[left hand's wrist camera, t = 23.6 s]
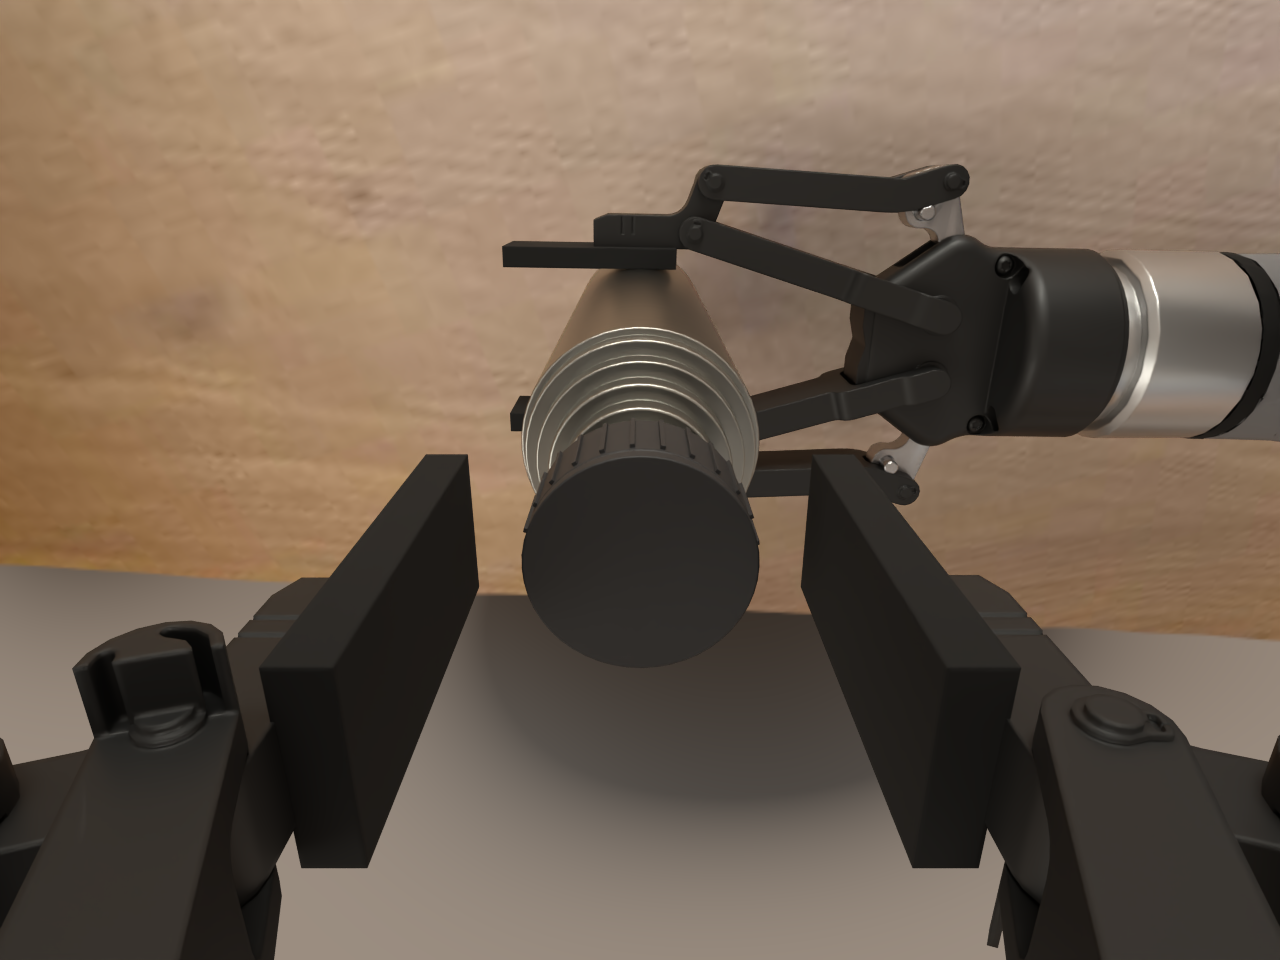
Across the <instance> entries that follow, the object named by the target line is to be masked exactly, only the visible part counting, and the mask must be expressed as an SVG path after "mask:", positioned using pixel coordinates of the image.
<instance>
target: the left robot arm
mask: <svg viewBox="0 0 1280 960" xmlns="http://www.w3.org/2000/svg"><path fill="white" fill-rule="evenodd" d="M478 588H479V580H478V568H477V556H476V545H475V533H474V521H473V510H472V498H471V487H470V475H469V463H468V454H426V455H425V456H424V458H423V459H422V460H421V462H420V463H419V464H418V465H417V467H416V468H415V469H414V470H413V472H412V473H411V474H410V476H409V477H408V478H407V479H406V481H405V482H404V483H403V484H402V486H401V487H400V488H399V490H398V491H397V492H396V493H395V495H394V496H393V497H392V498H391V500H390V501H389V502H388V504H387V505H386V506H385V507H384V509H383V510H382V511H381V513H380V514H379V515H378V516H377V518H376V519H375V520H374V521H373V523H372V524H371V525H370V527H369V528H368V529H367V530H366V532H365V533H364V534H363V535H362V537H361V538H360V539H359V541H358V542H357V543H356V544H355V546H354V547H353V548H352V549H351V551H350V552H349V553H348V555H347V556H346V557H345V558H344V560H343V561H342V562H341V563H340V565H339V566H338V567H337V569H336V570H335V571H334V572H333V574H332V575H331V576H330V577H329V578H300V579H299V580H297V581H295V582H294V583H292V584H290V585H288V586H287V587H285V588H283V589H282V590H280V591H278V592H277V593H275V594H273V595H272V596H271V597H270V598H269V599H268V600H267V602H266V603H265V604H264V605H263V606H262V607H261V608H260V609H259V610H258V612H257V613H256V614H255V615H254V619H253V620H249V622H248V623H247V624H246V625H245V626H244V627H243V628H242V629H241V631H240V632H239V633H238V638H234V639H233V640H232V641H231V642H230V643H229V644H228V645H227V646H226V645H225V640H224V636H223V632H221V631H220V630H219V629H217V628H216V627H214V626H213V625H212V624H207V623H201V622H195V621H179V622H165V623H161V624H156V625H152V626H147V627H143V628H139V629H135V630H133V631H130V632H128V633H125V634H123V635H120V636H118V637H115V638H112V639H110V640H108V641H106V642H105V643H103V644H101V645H100V646H98V647H97V648H95V649H93V650H92V651H90V652H88V653H87V654H86V655H85V656H84V657H83V658H82V659H81V660H80V661H79V662H78V663H77V664H76V665H75V666H74V667H73V668H72V669H73V673H74V676H75V679H76V682H77V685H78V688H79V691H80V694H81V697H82V701H83V704H84V707H85V710H86V713H87V717H88V720H89V723H90V726H91V729H92V732H93V735H94V740H93V742H92V744H91V746H90V748H89V749H88V750H84V751H80V752H75V753H70V754H66V755H60V756H56V757H51V758H46V759H41V760H36V761H31V762H26V763H21V764H16V765H12V763H11V760H10V757H9V754H8V752H7V749H6V746H5V744H4V741H3V739H1V738H0V960H274V956H275V947H276V939H277V931H278V923H279V914H280V906H281V898H282V894H281V888H280V881H279V876H278V872H277V868H276V862H277V860H278V859H279V857H280V855H281V853H282V851H283V849H284V847H285V845H286V844H287V842H288V840H289V838H290V836H291V834H292V832H293V831H294V836H295V841H296V845H297V850H298V855H299V859H300V864H301V868H368V865H369V863H370V860H371V858H372V855H373V853H374V850H375V848H376V845H377V843H378V840H379V838H380V835H381V833H382V830H383V828H384V825H385V822H386V820H387V817H388V815H389V812H390V810H391V807H392V805H393V802H394V800H395V797H396V795H397V792H398V790H399V787H400V785H401V782H402V780H403V777H404V775H405V772H406V770H407V767H408V765H409V762H410V760H411V757H412V755H413V752H414V750H415V747H416V744H417V742H418V739H419V737H420V734H421V732H422V729H423V727H424V724H425V722H426V719H427V717H428V714H429V712H430V709H431V707H432V704H433V702H434V699H435V697H436V694H437V692H438V689H439V687H440V684H441V682H442V679H443V677H444V674H445V671H446V669H447V666H448V664H449V661H450V659H451V656H452V654H453V651H454V649H455V646H456V644H457V641H458V639H459V636H460V634H461V631H462V629H463V626H464V624H465V621H466V619H467V616H468V614H469V611H470V609H471V606H472V604H473V601H474V598H475V596H476V593H477V591H478ZM801 588H802V591H803V593H804V596H805V598H806V601H807V604H808V606H809V609H810V611H811V614H812V616H813V619H814V621H815V624H816V626H817V629H818V631H819V634H820V636H821V639H822V641H823V644H824V646H825V649H826V651H827V654H828V656H829V659H830V661H831V664H832V666H833V669H834V671H835V674H836V677H837V679H838V681H839V684H840V687H841V689H842V692H843V694H844V697H845V699H846V702H847V704H848V707H849V709H850V712H851V714H852V717H853V719H854V722H855V724H856V727H857V729H858V732H859V734H860V737H861V739H862V742H863V744H864V747H865V750H866V752H867V754H868V757H869V760H870V762H871V765H872V767H873V770H874V772H875V775H876V777H877V780H878V782H879V785H880V787H881V790H882V792H883V795H884V797H885V800H886V802H887V805H888V807H889V810H890V812H891V815H892V817H893V820H894V822H895V825H896V827H897V830H898V833H899V835H900V837H901V840H902V843H903V845H904V848H905V850H906V853H907V855H908V858H909V860H910V863H911V865H912V868H979V864H980V859H981V855H982V850H983V845H984V841H985V835H986V831H987V828H988V830H989V832H990V834H991V836H992V838H993V840H994V841H995V843H996V845H997V847H998V849H999V851H1000V853H1001V854H1002V856H1003V858H1004V860H1005V863H1004V868H1003V872H1002V876H1001V881H1000V885H999V889H998V894H997V898H996V902H995V907H994V911H993V916H992V920H991V924H990V929H989V935H988V942H987V945H989V946H992V947H996V948H998V945H999V941H1000V936H1001V932H1002V931H1003V937H1004V945H1005V953H1006V960H1280V735H1279V736H1278V738H1277V741H1276V744H1275V746H1274V749H1273V752H1272V754H1271V757H1270V760H1269V762H1267V761H1262V760H1257V759H1252V758H1247V757H1242V756H1237V755H1232V754H1227V753H1222V752H1217V751H1212V750H1207V749H1202V748H1198V747H1194V746H1190V744H1189V742H1188V740H1187V738H1186V736H1185V735H1184V734H1183V733H1182V731H1181V730H1180V729H1179V728H1178V726H1177V725H1176V724H1175V723H1174V721H1173V720H1171V719H1170V718H1169V717H1167V716H1166V715H1164V714H1163V713H1162V712H1160V711H1159V710H1157V709H1156V708H1154V707H1153V706H1152V705H1150V704H1148V703H1145V702H1143V701H1141V700H1139V699H1137V698H1134V697H1132V696H1130V695H1128V694H1126V693H1122V692H1118V691H1114V690H1111V689H1107V688H1103V687H1099V686H1092V685H1091V684H1090V683H1089V682H1088V681H1087V680H1086V678H1085V677H1084V676H1083V675H1082V674H1081V673H1080V672H1079V671H1078V670H1077V668H1076V667H1075V666H1074V665H1073V664H1072V663H1071V662H1070V661H1069V659H1068V658H1067V657H1066V656H1065V655H1064V654H1063V653H1062V652H1061V651H1060V649H1059V648H1058V647H1057V646H1056V645H1055V644H1054V643H1053V642H1052V641H1051V639H1050V638H1049V637H1048V636H1047V635H1043V634H1042V629H1041V628H1040V627H1039V626H1038V625H1037V624H1036V623H1035V622H1034V620H1033V619H1032V618H1031V617H1027V613H1026V612H1025V610H1024V609H1023V608H1022V607H1021V606H1020V605H1019V604H1018V603H1017V602H1016V600H1015V599H1014V598H1013V597H1012V596H1011V595H1010V594H1009V593H1008V592H1006V591H1005V590H1003V589H1001V588H1000V587H998V586H996V585H995V584H993V583H991V582H989V581H988V580H986V579H984V578H983V577H981V576H979V575H948V574H947V572H946V571H945V570H944V569H943V567H942V566H941V565H940V563H939V562H938V561H937V560H936V558H935V557H934V556H933V555H932V553H931V552H930V551H929V549H928V548H927V547H926V546H925V544H924V543H923V542H922V541H921V539H920V538H919V537H918V535H917V534H916V533H915V532H914V530H913V529H912V528H911V527H910V525H909V524H908V523H907V521H906V520H905V519H904V518H903V516H902V515H901V514H900V512H899V511H898V510H897V509H896V507H895V506H894V505H893V504H892V502H891V501H890V500H889V498H888V497H887V496H886V495H885V493H884V492H883V491H882V490H881V488H880V487H879V486H878V484H877V483H876V482H875V481H874V479H873V478H872V477H871V476H870V474H869V473H868V472H867V470H866V469H865V468H864V467H863V465H862V464H861V463H860V462H859V460H858V459H857V458H856V456H855V455H854V454H812V463H811V475H810V487H809V498H808V510H807V521H806V533H805V545H804V556H803V568H802V580H801Z"/></svg>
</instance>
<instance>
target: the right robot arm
mask: <svg viewBox="0 0 1280 960" xmlns="http://www.w3.org/2000/svg"><path fill="white" fill-rule="evenodd" d="M968 185H969V174H968V171H967V170H966V169H965V168H964V167H963V166H961V165H958V164H952V165H934V166H926V167H923V168H919V169H916V170H913V171H909V172H906V173H903V174H899V175H896V176H893V177H877V176H864V175H850V174H837V173H824V172H810V171H797V170H783V169H770V168H757V167H743V166H730V165H710V166H706V167H704V168H702V169H700V170H699V172H698V173H697V174H696V177H695V180H694V184H693V186H692V189H691V191H690V194H689V197H688V199H687V201H686V203H685V205H684V206H683V207H682V209H680V210H679V211H678V212H675V213H673V214H630V213H607V214H605V215H602V216H600V217H598V218H595V219H594V242H539V241H512V242H510V243H508V244H506V245H504V246H502V252H503V267H530V268H590V269H650V270H676V253H677V249H689V250H692V251H695V252H698V253H701V254H704V255H707V256H710V257H713V258H716V259H719V260H722V261H725V262H728V263H731V264H734V265H737V266H740V267H743V268H746V269H749V270H752V271H755V272H758V273H761V274H764V275H767V276H770V277H773V278H776V279H779V280H782V281H785V282H788V283H791V284H794V285H797V286H800V287H803V288H806V289H809V290H812V291H815V292H818V293H821V294H824V295H827V296H830V297H833V298H836V299H839V300H842V301H844V302H847V303H849V304H851V311H850V323H851V330H852V340H851V343H850V345H849V348H848V350H847V353H846V356H845V364H844V367H843V368H840V369H836V370H832V371H829V372H826V373H823V374H822V375H821V376H820V377H818V378H815V379H812V380H808V381H804V382H801V383H797V384H793V385H790V386H786V387H782V388H779V389H775V390H771V391H768V392H764V393H760V394H757V395H753V396H750V397H751V399H752V402H753V405H754V408H755V411H756V415H757V421H758V426H759V440H762V439H766V438H770V437H773V436H777V435H781V434H785V433H788V432H792V431H796V430H800V429H803V428H807V427H811V426H815V425H818V424H822V423H826V422H830V421H834V420H844V421H847V420H854V419H858V418H861V417H865V416H869V415H873V414H876V413H878V414H879V415H880V416H882V417H883V418H884V419H886V420H887V421H888V422H889V423H891V424H892V425H893V426H894V427H896V428H897V429H898V430H900V431H901V432H902V434H901V435H900V437H899V438H898V439H896V440H895V441H893V442H889V443H886V442H879V443H876V444H873V445H871V446H870V448H869V450H868V451H867V452H865V451H861V450H855V449H813V450H784V451H759V452H758V459H757V463H756V468H755V472H754V474H753V477H752V479H751V482H750V485H749V487H748V489H747V492H746V496H747V497H776V496H805V495H809V487H810V475H811V463H812V454H854V455H855V456H856V458H857V459H858V460H859V462H860V463H861V464H862V465H863V467H864V468H865V469H866V470H867V472H868V473H869V474H870V476H871V477H872V478H873V479H874V481H875V482H876V483H877V484H878V486H879V487H880V488H881V490H882V491H883V492H884V493H885V495H886V496H887V497H888V498H889V500H890V501H891V502H892V503H896V504H899V505H908V504H911V503H912V502H914V501H915V500H916V499H917V497H918V496H919V492H920V490H919V486H918V484H917V483H916V482H915V480H914V478H915V476H916V474H917V472H918V470H919V468H920V465H921V463H922V461H923V459H924V457H925V455H926V453H927V451H928V449H929V447H930V446H936V445H940V444H943V443H945V442H947V441H949V440H951V439H953V438H956V437H959V436H964V435H980V436H1037V437H1067V436H1072V435H1074V434H1077V433H1078V434H1079V435H1081V436H1084V437H1090V438H1189V439H1204V438H1211V439H1243V440H1271V441H1278V442H1280V254H1235V253H1229V252H1211V251H1164V250H1106V251H1104V252H1101V253H1097V252H1095V251H1093V250H1089V249H1059V248H1002V247H989V246H987V245H985V244H983V243H981V242H980V241H978V240H977V239H975V238H974V237H971V236H968V235H965V234H964V226H963V218H962V210H961V202H960V196H961V195H962V194H963V193H964V192H965V191H966V190H967V187H968ZM724 201H736V202H749V203H763V204H777V205H790V206H804V207H818V208H831V209H845V210H858V211H872V212H888V213H898V216H899V219H900V221H901V222H902V223H903V224H904V225H906V226H908V227H913V228H924V229H925V230H926V231H927V232H928V233H929V235H930V239H931V240H930V241H928V242H927V243H925V244H924V245H922V246H921V247H919V248H918V249H916V250H915V251H913V252H912V253H910V254H909V255H907V256H906V257H904V258H903V259H901V260H900V261H898V262H897V263H895V264H894V265H892V266H891V267H889V268H888V269H886V270H885V271H883V272H882V273H880V274H879V275H877V276H875V275H872V274H869V273H866V272H863V271H860V270H857V269H854V268H851V267H849V266H846V265H842V264H839V263H836V262H833V261H830V260H827V259H824V258H821V257H818V256H815V255H813V254H810V253H807V252H804V251H801V250H798V249H795V248H792V247H789V246H786V245H783V244H780V243H777V242H774V241H771V240H768V239H765V238H762V237H760V236H757V235H754V234H751V233H748V232H745V231H742V230H739V229H736V228H733V227H730V226H727V225H724V224H721V223H718V222H716V219H717V217H718V214H719V212H720V209H721V207H722V204H723V202H724ZM530 397H531V396H520V397H519V398H518V400H517V402H516V404H515V406H514V407H513V409H512V411H511V413H510V421H511V431H522V426H523V418H524V415H525V411H526V407H527V404H528V401H529V399H530Z"/></svg>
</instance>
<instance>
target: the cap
mask: <svg viewBox="0 0 1280 960" xmlns="http://www.w3.org/2000/svg"><path fill="white" fill-rule="evenodd" d="M753 518H754V516H753V513H752V510H751V507H750V504H749V501H748V499H747V496H746V493H745V490H744V487H743V484H742V482H741V483H738V481H737V479H736V476H735V473H734V470H733V467H732V464H731V462H730V461H729V460H728V461H726V460H725V459H724V458H723V457H722V456H721V455H720V454H719V452H718V451H717V450H716V449H715V448H714V444H713V443H712V442H711V441H709V443H707V442H706V441H705V440H703V439H702V438H700V437H698V436H697V435H695V434H694V433H691V431H690V429H689V428H687V427H686V428H685V429H683V428H680V427H677V426H674V425H671V424H668V423H664V420H660V419H659V422H657V421H644V420H636V421H635V418H631V421H624V422H619V423H614V424H610V425H608V423H604V424H603V427H601V428H598V429H596V430H594V431H592V432H590V433H588V434H586V435H584V436H583V435H582V434H580V435H579V436H578V438H577V440H576V441H575V442H573V443H572V444H571V445H570V446H569V447H568V448H567V449H565V450H564V451H563V452H561V451H559V452H558V453H557V457H556V460H555V462H554V463H553V465H552V466H551V468H550V469H549V471H548V472H547V473H546V472H544V473H543V475H542V478H541V481H540V484H539V487H538V490H537V493H536V495H535V497H534V500H533V503H532V506H531V509H530V512H529V515H528V518H527V521H526V524H525V527H524V530H523V532H525V533H526V535H525V539H524V543H523V550H522V573H523V579H524V584H525V587H526V591H527V594H528V597H529V599H530V601H531V603H532V605H533V608H534V609H535V611H536V612H537V614H538V616H539V617H540V619H541V620H542V621H543V623H544V624H545V625H546V626H547V627H548V629H549V630H550V631H551V632H552V633H553V634H554V635H556V636H557V637H558V638H559V639H560V640H561V641H562V642H564V643H565V644H567V645H568V646H569V647H571V648H572V649H574V650H576V651H578V652H579V653H581V654H583V655H585V656H587V657H590V658H592V659H595V660H597V661H600V662H604V663H607V664H611V665H616V666H623V667H634V668H648V667H659V666H665V665H670V664H674V663H677V662H680V661H684V660H687V659H689V658H691V657H694V656H696V655H698V654H700V653H702V652H703V651H705V650H707V649H709V648H710V647H712V646H713V645H715V644H716V643H717V642H719V641H720V640H721V639H722V638H724V637H725V636H726V635H727V634H728V633H729V632H730V631H731V630H732V629H733V627H734V626H735V625H736V624H737V623H738V621H739V620H740V619H741V617H742V616H743V614H744V613H745V611H746V609H747V608H748V606H749V604H750V601H751V599H752V597H753V594H754V591H755V588H756V584H757V581H758V573H759V549H758V545H759V539H758V536H757V533H756V530H755V527H754V524H753V520H752V519H753Z"/></svg>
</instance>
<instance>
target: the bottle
mask: <svg viewBox="0 0 1280 960" xmlns="http://www.w3.org/2000/svg"><path fill="white" fill-rule="evenodd" d="M631 418H635V421H636V420H644V421H657V422H659V419H660V420H664V423H668V424H671V425H674V426H677V427H680V428H683V429H685V428H686V427H687V428H689V429H690V431H691V433H694V434H695V435H697V436H698V437H700V438H702V439H703V440H705V441H706V442H707V443H709V441H711V442H712V443H713V444H714V448H715V449H716V450H717V451H718V452H719V454H720V455H721V456H722V457H723V458H724V459H725V460H726V461H728V460H729V461H730V462H731V464H732V467H733V470H734V473H735V476H736V479H737V481H738V483H741V482H742V484H743V487H744V490H745V493H746V492H747V489H748V487H749V485H750V482H751V479H752V477H753V474H754V472H755V468H756V463H757V459H758V452H759V426H758V421H757V415H756V411H755V408H754V405H753V402H752V399H751V397H750V395H749V393H748V391H747V389H746V387H745V385H744V383H743V381H742V379H741V377H740V375H739V373H738V371H737V369H736V367H735V365H734V363H733V361H732V359H731V357H730V356H729V354H728V352H727V350H726V348H725V346H724V344H723V342H722V340H721V338H720V336H719V334H718V332H717V330H716V328H715V326H714V324H713V323H712V321H711V319H710V317H709V315H708V313H707V311H706V309H705V307H704V305H703V303H702V301H701V299H700V297H699V295H698V293H697V291H696V290H695V288H694V286H693V284H692V282H691V280H690V279H689V277H688V276H687V275H686V274H685V272H684V271H683V270H682V269H681V268H680V267H678V266H677V265H676V270H650V269H599V270H598V271H597V272H596V273H595V274H594V275H593V277H592V278H591V279H590V281H589V283H588V285H587V286H586V288H585V290H584V292H583V294H582V296H581V298H580V300H579V302H578V304H577V306H576V308H575V310H574V312H573V314H572V316H571V318H570V320H569V321H568V323H567V325H566V327H565V329H564V331H563V333H562V335H561V337H560V339H559V341H558V343H557V345H556V347H555V349H554V351H553V353H552V355H551V357H550V359H549V361H548V362H547V364H546V366H545V368H544V370H543V372H542V374H541V376H540V378H539V380H538V382H537V384H536V386H535V388H534V390H533V392H532V394H531V397H530V399H529V401H528V404H527V407H526V411H525V415H524V418H523V426H522V434H521V435H522V454H523V460H524V465H525V468H526V472H527V475H528V478H529V480H530V482H531V485H532V487H533V490H534V492H535V494H536V493H537V490H538V487H539V484H540V481H541V478H542V475H543V473H544V472H546V473H547V472H548V471H549V469H550V468H551V466H552V465H553V463H554V462H555V460H556V457H557V453H558V452H559V451H561V452H563V451H564V450H565V449H567V448H568V447H569V446H570V445H571V444H572V443H573V442H575V441H576V440H577V438H578V436H579V435H580V434H582V435H583V436H584V435H586V434H588V433H590V432H592V431H594V430H596V429H598V428H601V427H603V424H604V423H608V425H610V424H614V423H619V422H624V421H631Z"/></svg>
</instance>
